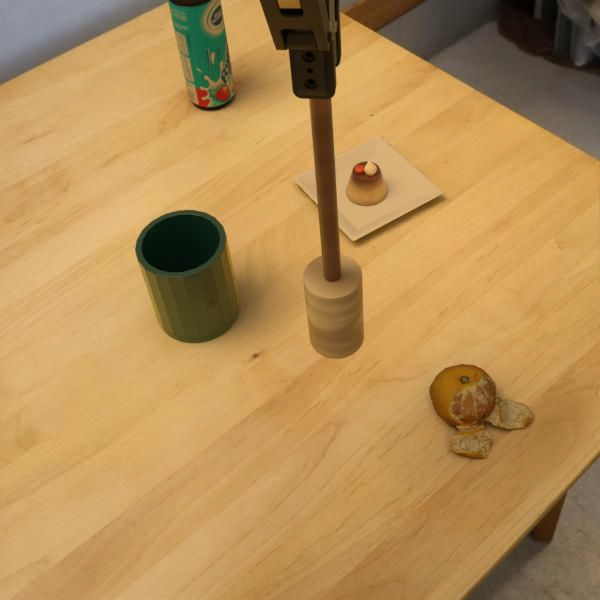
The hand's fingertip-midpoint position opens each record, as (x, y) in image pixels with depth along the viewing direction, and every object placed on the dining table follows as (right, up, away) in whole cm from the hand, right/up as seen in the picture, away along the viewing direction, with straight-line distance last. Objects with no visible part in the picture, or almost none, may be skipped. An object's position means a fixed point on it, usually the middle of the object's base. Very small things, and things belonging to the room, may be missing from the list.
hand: (317, 78), depth 45 cm
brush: (+2, -14, +18) cm, 23 cm away
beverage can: (-12, +14, +63) cm, 65 cm away
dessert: (+6, 0, +50) cm, 50 cm away
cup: (-11, -13, +41) cm, 45 cm away
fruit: (+14, -23, +31) cm, 41 cm away
